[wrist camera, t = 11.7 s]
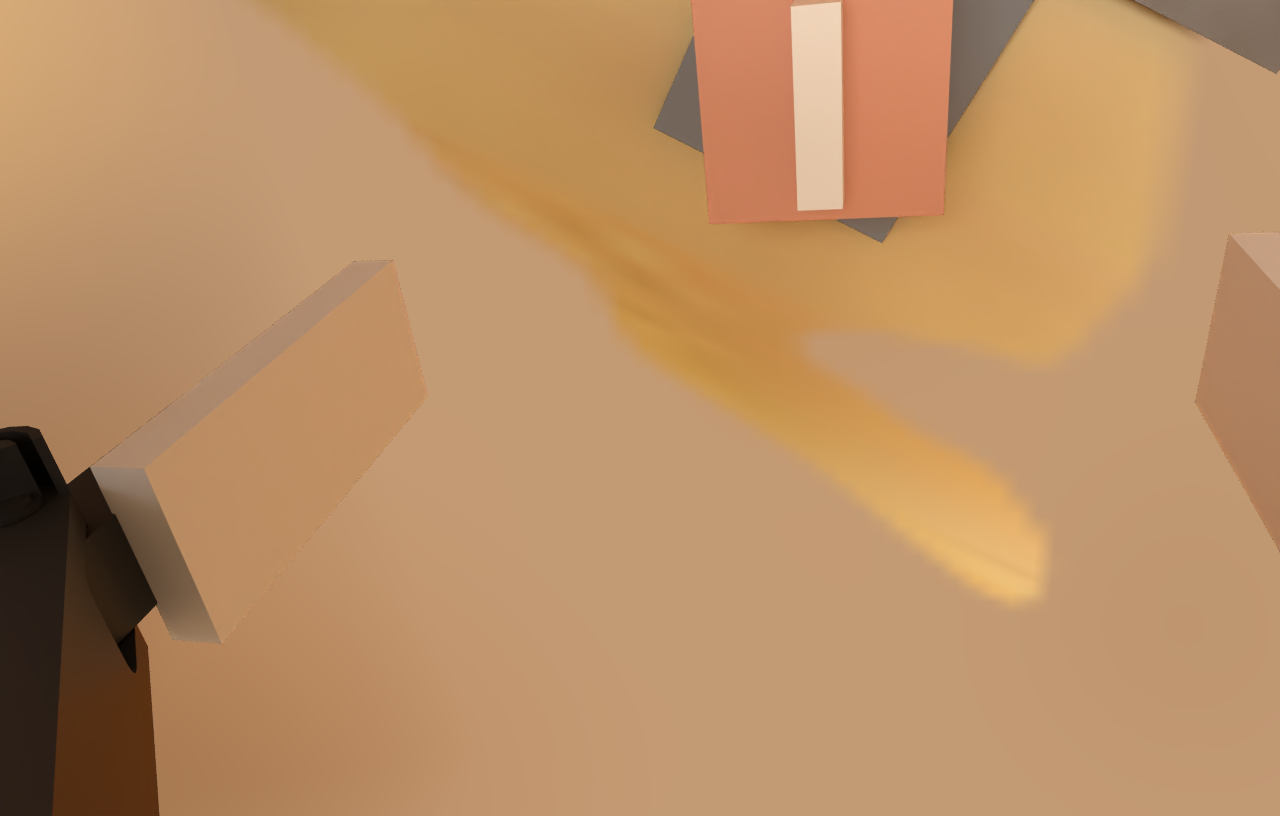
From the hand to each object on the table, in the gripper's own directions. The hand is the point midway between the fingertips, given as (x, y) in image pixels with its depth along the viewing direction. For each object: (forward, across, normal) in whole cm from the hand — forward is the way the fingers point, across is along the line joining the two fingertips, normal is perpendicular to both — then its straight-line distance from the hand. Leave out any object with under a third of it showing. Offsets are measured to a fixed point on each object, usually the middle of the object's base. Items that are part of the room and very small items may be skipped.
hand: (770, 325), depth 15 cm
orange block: (+22, 0, 0) cm, 22 cm away
